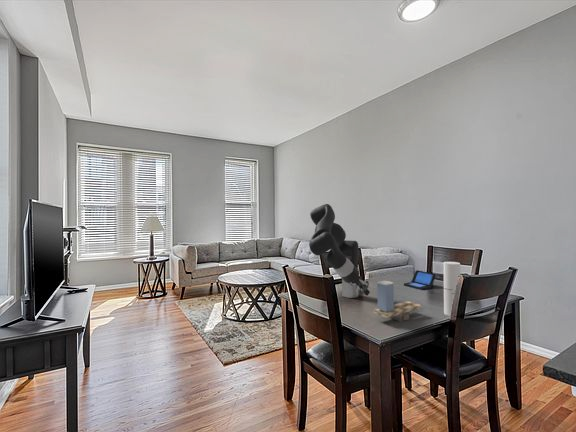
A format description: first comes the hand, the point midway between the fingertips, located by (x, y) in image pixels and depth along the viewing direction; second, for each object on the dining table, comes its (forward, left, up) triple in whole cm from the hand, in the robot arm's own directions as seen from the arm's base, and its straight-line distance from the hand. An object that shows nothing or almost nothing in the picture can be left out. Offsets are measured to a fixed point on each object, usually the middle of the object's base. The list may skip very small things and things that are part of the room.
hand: (367, 293), depth 133 cm
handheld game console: (+32, +79, -15) cm, 87 cm away
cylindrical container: (+40, +25, -15) cm, 49 cm away
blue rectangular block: (+8, +9, -11) cm, 16 cm away
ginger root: (+14, +14, -15) cm, 25 cm away
